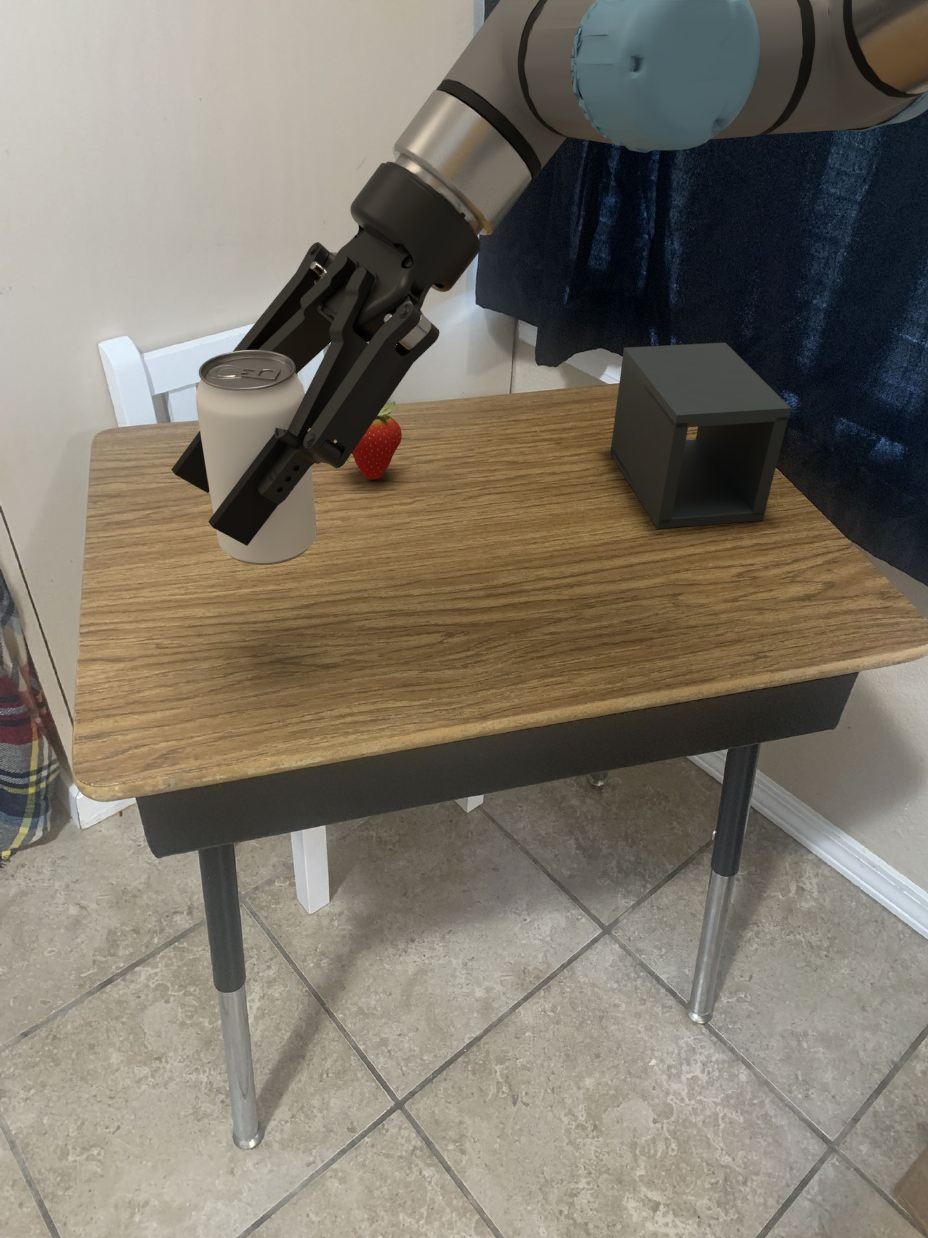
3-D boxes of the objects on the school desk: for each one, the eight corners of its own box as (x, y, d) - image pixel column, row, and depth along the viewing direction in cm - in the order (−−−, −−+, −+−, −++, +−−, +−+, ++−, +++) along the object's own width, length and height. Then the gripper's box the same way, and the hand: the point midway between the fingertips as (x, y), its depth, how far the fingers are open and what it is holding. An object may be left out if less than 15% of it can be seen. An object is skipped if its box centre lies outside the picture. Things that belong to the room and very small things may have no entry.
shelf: (763, 520, 88) (791, 407, 81) (657, 529, 86) (676, 414, 80) (704, 447, 99) (725, 342, 92) (609, 453, 97) (623, 347, 90)
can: (234, 511, 67) (210, 343, 60) (326, 518, 67) (313, 350, 60) (205, 564, 62) (175, 387, 55) (305, 571, 62) (288, 394, 55)
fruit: (396, 461, 95) (394, 384, 90) (407, 489, 91) (406, 409, 86) (343, 467, 94) (339, 389, 89) (353, 495, 90) (349, 415, 85)
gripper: (564, 287, 54) (313, 610, 57) (401, 201, 67) (204, 467, 70) (486, 197, 48) (213, 559, 52) (325, 123, 62) (115, 415, 65)
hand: (208, 506), depth 61 cm, fingers closed on can, 6 cm apart
